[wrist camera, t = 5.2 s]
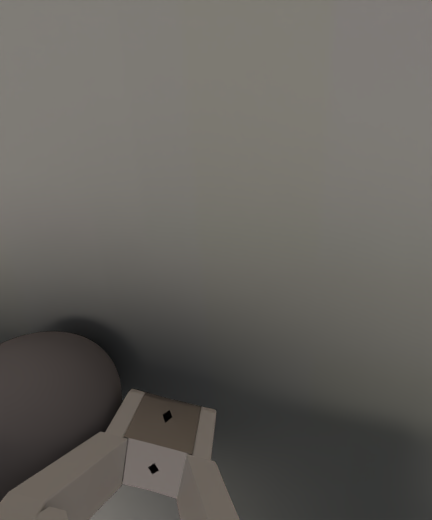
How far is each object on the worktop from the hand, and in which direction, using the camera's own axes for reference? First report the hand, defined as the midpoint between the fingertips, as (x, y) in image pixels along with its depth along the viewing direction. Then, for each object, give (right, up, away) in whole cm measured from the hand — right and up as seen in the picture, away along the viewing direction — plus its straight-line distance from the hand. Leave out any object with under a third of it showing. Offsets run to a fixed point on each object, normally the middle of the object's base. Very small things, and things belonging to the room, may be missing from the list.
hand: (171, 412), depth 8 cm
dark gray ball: (-4, 0, -1) cm, 4 cm away
